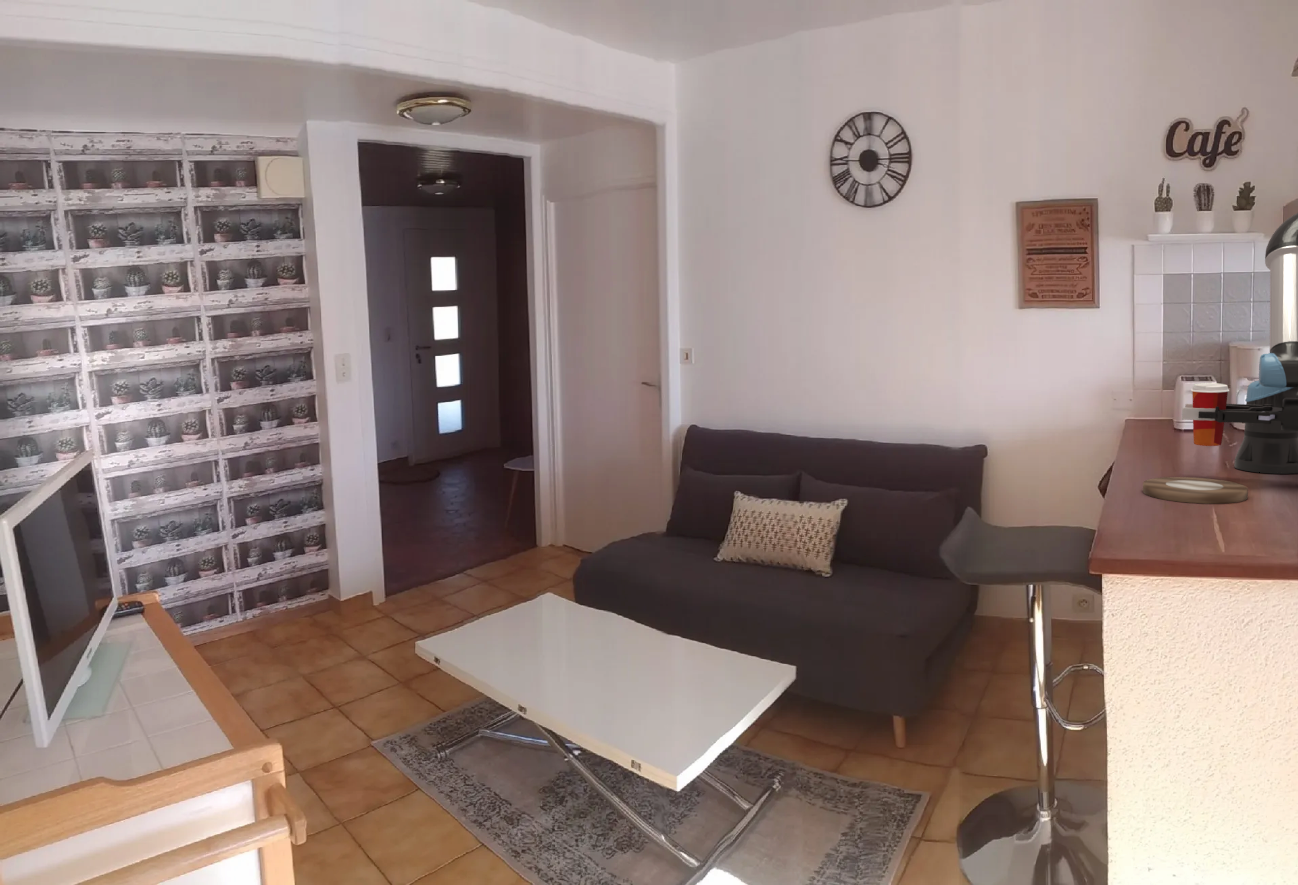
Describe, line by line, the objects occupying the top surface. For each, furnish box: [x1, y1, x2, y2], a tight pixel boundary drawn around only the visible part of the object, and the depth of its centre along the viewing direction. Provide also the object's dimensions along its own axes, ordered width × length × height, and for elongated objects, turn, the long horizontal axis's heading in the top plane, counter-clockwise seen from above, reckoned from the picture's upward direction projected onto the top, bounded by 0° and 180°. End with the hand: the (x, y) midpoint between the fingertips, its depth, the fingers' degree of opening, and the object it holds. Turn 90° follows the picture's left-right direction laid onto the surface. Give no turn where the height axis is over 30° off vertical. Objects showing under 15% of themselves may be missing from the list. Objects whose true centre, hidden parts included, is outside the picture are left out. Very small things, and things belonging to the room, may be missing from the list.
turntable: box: [1142, 476, 1249, 505], centre depth 203 cm, size 20×20×2 cm
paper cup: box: [1190, 382, 1230, 447], centre depth 214 cm, size 8×8×14 cm
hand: (1184, 411), depth 217 cm, fingers closed on paper cup, 6 cm apart
